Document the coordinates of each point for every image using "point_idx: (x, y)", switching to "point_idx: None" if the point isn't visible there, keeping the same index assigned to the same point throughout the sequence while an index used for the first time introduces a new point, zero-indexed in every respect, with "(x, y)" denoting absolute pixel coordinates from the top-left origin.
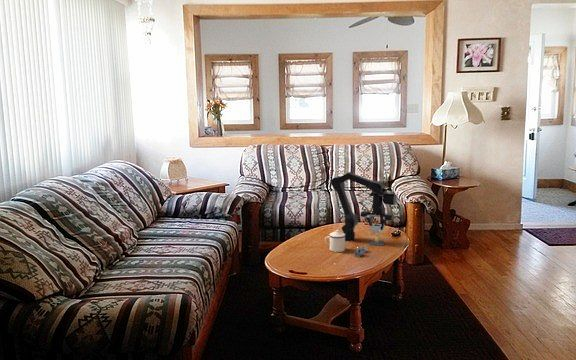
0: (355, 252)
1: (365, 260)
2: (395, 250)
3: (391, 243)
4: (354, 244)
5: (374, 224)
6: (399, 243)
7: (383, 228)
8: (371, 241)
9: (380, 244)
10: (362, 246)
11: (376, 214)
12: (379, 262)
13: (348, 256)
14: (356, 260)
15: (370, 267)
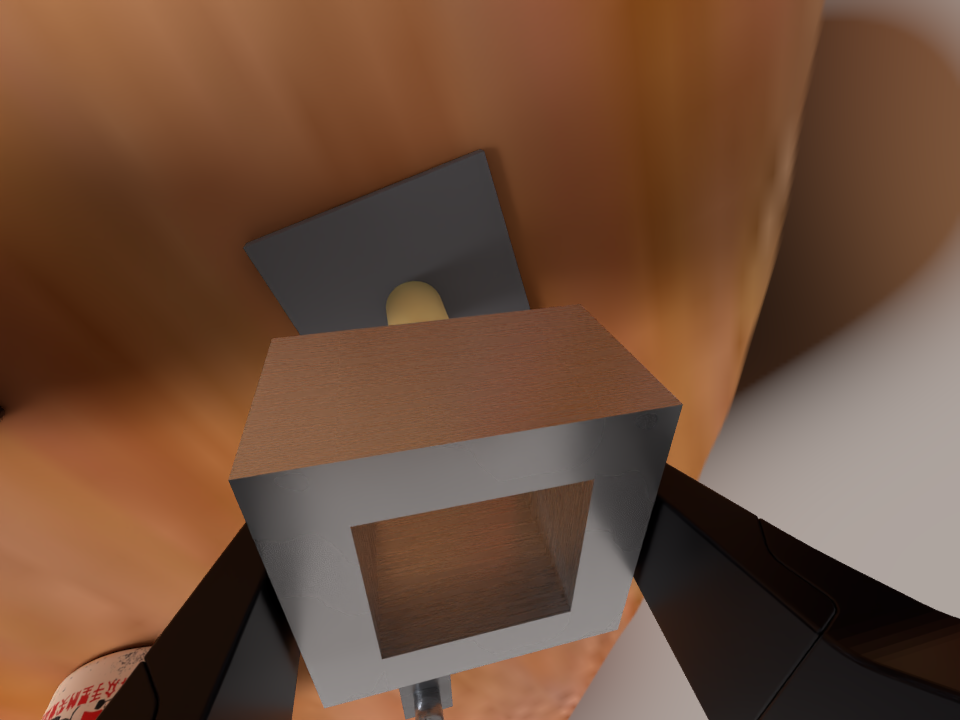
0: (413, 714)
1: (508, 672)
2: (690, 403)
3: (618, 169)
4: (161, 498)
5: (350, 561)
6: (738, 96)
7: (608, 335)
8: (304, 295)
9: None
10: None
11: None
12: (603, 643)
13: (362, 699)
14: (454, 700)
15: (572, 702)
